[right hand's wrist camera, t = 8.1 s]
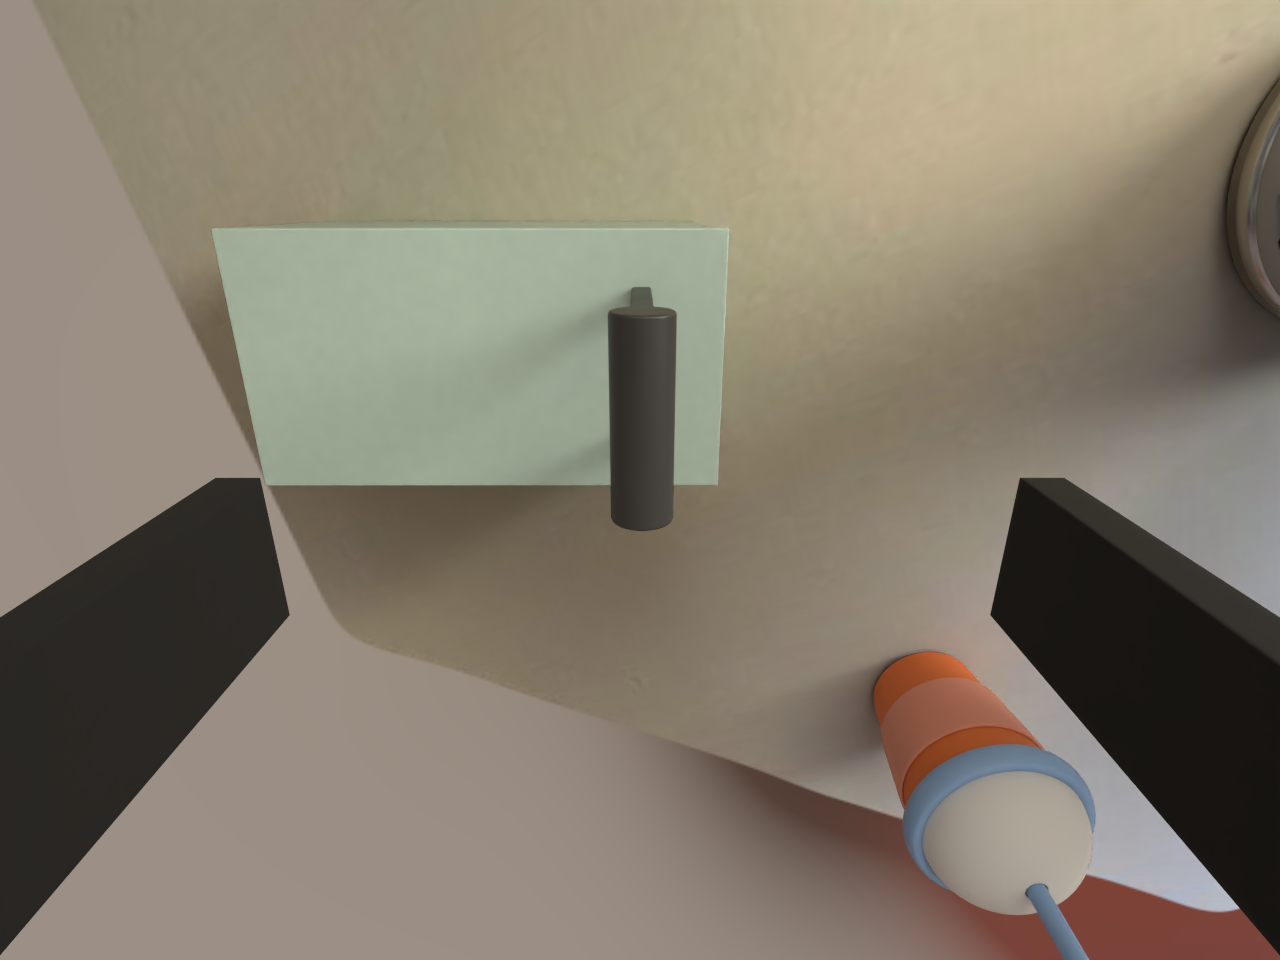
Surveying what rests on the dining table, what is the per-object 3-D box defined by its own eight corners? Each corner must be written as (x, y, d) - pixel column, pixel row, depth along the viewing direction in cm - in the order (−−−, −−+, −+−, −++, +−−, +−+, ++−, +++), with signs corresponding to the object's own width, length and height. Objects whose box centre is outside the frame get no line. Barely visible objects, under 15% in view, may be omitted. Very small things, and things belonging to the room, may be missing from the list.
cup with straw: (839, 746, 45) (954, 1062, 29) (860, 627, 42) (1005, 907, 25) (977, 750, 46) (1173, 1067, 29) (1009, 631, 42) (1252, 913, 25)
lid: (726, 227, 25) (768, 239, 17) (715, 478, 28) (746, 588, 20) (222, 227, 25) (21, 239, 17) (274, 478, 28) (129, 588, 20)
